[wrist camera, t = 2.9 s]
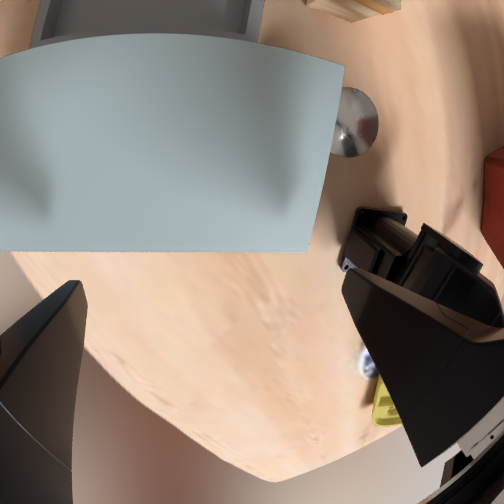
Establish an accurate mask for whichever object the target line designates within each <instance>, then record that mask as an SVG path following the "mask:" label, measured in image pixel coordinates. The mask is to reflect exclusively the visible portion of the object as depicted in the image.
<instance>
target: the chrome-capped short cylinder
mask: <svg viewBox="0 0 504 504" xmlns="http://www.w3.org/2000/svg"><path fill="white" fill-rule="evenodd" d="M378 123H379V122H378V114H377V111H376V108H375V106H374V104H373V102H372V101H371V99H370V98H369V97H368V96H367V95H366V94H364V93H363V92H362V91H360V90H357V89H355V88H349V87H342V89H341V96H340V101H339V107H338V113H337V119H336V124H335V129H334V135H333V140H332V145H331V150H330V152H331V153H334V154H336V155H339V156H342V157H356V156H359V155H361V154H363V153H364V152H366V151H367V150H368V149H369V148H370V147H371V145H372V144H373V142H374V140H375V138H376V136H377V132H378Z"/></svg>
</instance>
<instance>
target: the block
mask: <svg viewBox="0 0 504 504" xmlns="http://www.w3.org/2000/svg"><path fill="white" fill-rule="evenodd" d="M306 6H307V7H311V8H314V9H317V10H320V11H322V12H325V13H328V14H331V15H334V16H336V17H339V18H341V19H344V20H346V21H349V22H351V23H352V22H355V21H358V20H361V19H365V18H368V17H372V16H376V15H379V14H382V15H383V14H387V13H392V12H393V11H396V10H401V0H307V1H306Z"/></svg>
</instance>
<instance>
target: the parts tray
mask: <svg viewBox="0 0 504 504" xmlns="http://www.w3.org/2000/svg"><path fill="white" fill-rule="evenodd" d="M264 2H265V0H41V3H40V7H39V10H38V14H37V17H36V21H35V25H34V29H33V34H32V38H31V43H30V48H29V49H32V48H36V47H40V46H45V45H49V44H54V43H59V42H64V41H70V40H76V39H83V38H90V37H99V36H109V35H122V34H149V33H160V34H188V35H202V36H212V37H221V38H229V39H236V40H243V41H249V42H254V43H257V42H258V36H259V30H260V24H261V19H262V13H263V7H264Z"/></svg>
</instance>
